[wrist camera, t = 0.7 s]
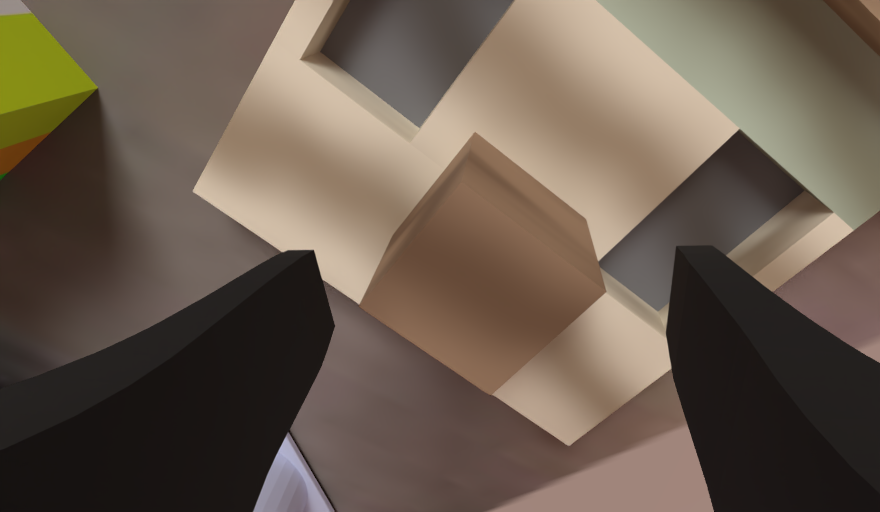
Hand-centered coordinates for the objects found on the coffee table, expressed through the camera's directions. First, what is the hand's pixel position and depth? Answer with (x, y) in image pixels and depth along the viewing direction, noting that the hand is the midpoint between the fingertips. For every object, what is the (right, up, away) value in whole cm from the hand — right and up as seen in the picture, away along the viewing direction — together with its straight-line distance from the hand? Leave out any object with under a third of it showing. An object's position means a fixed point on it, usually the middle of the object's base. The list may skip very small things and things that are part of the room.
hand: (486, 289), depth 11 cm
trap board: (+3, +5, +10) cm, 11 cm away
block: (+1, +2, +9) cm, 9 cm away
